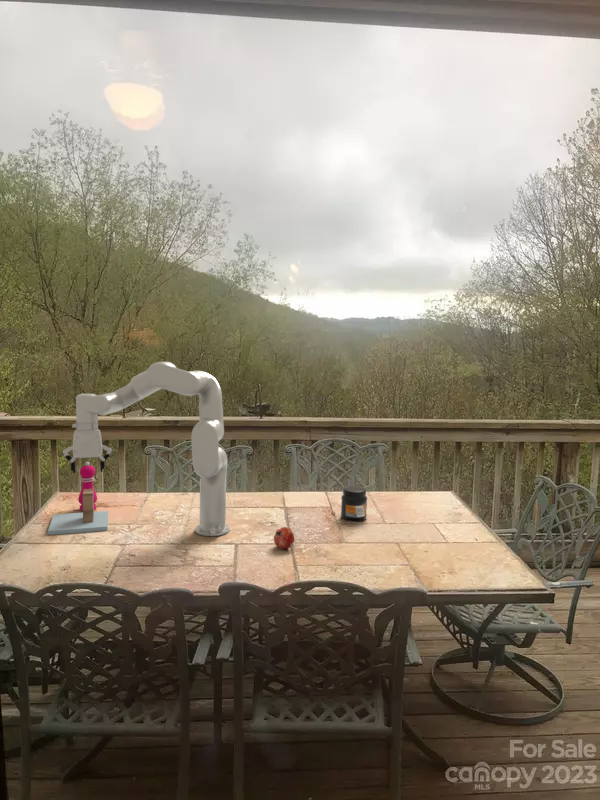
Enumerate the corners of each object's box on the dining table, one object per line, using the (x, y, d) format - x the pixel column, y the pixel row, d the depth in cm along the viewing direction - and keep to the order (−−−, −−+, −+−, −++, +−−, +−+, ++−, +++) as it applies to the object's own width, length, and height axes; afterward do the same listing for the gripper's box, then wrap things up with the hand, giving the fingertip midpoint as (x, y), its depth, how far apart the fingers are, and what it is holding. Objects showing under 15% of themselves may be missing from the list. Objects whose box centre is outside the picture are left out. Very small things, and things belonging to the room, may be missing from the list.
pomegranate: (282, 549, 193) (263, 536, 188) (294, 531, 194) (276, 518, 189) (293, 558, 187) (274, 545, 182) (305, 540, 188) (287, 527, 183)
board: (107, 530, 201) (107, 526, 201) (47, 535, 195) (47, 531, 195) (108, 514, 220) (108, 510, 220) (53, 518, 214) (53, 514, 214)
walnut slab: (93, 522, 206) (92, 493, 205) (83, 522, 204) (82, 494, 203) (93, 516, 212) (93, 488, 211) (84, 517, 211) (83, 489, 210)
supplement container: (363, 523, 217) (364, 493, 216) (337, 519, 220) (338, 490, 219) (368, 515, 227) (370, 487, 226) (344, 512, 230) (345, 484, 229)
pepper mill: (90, 505, 231) (90, 459, 229) (100, 509, 227) (100, 461, 225) (74, 509, 225) (74, 461, 223) (85, 513, 221) (84, 464, 219)
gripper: (61, 428, 199) (62, 475, 200) (111, 427, 204) (112, 472, 206) (63, 425, 206) (64, 470, 207) (111, 424, 211) (112, 468, 213)
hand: (88, 471), depth 207 cm, fingers open, 9 cm apart
